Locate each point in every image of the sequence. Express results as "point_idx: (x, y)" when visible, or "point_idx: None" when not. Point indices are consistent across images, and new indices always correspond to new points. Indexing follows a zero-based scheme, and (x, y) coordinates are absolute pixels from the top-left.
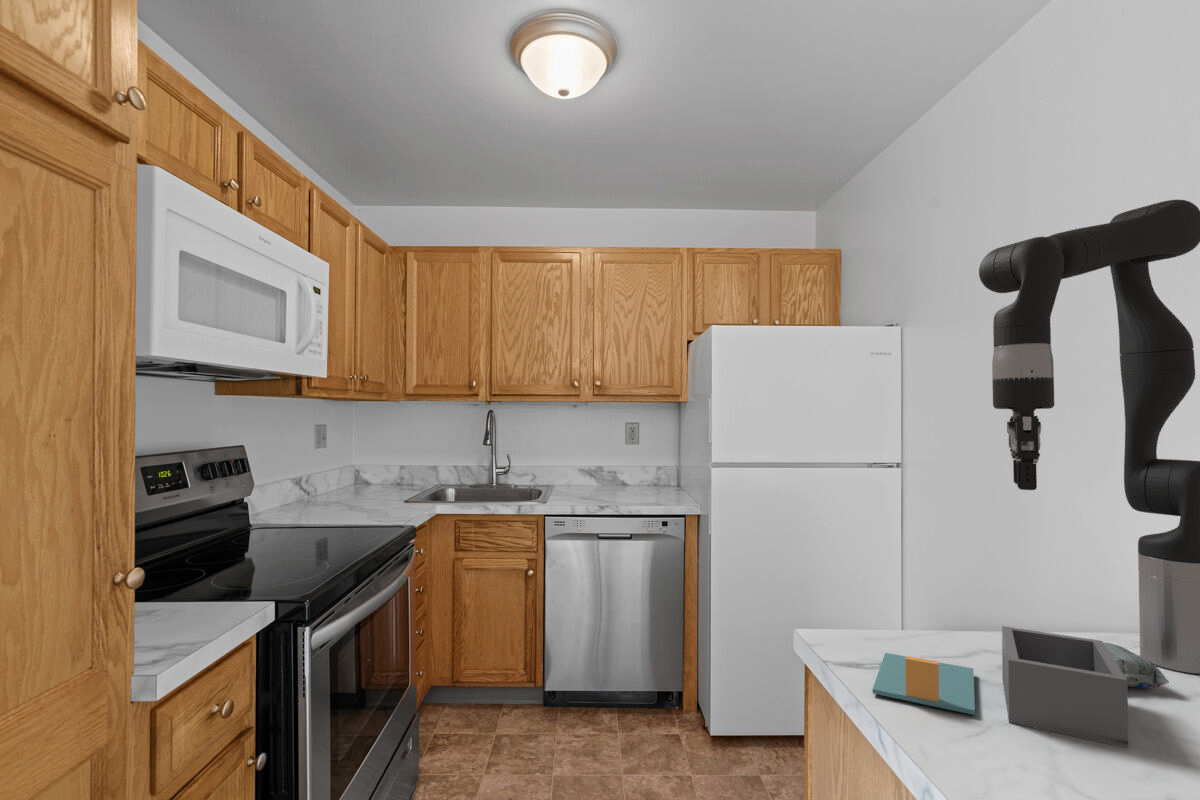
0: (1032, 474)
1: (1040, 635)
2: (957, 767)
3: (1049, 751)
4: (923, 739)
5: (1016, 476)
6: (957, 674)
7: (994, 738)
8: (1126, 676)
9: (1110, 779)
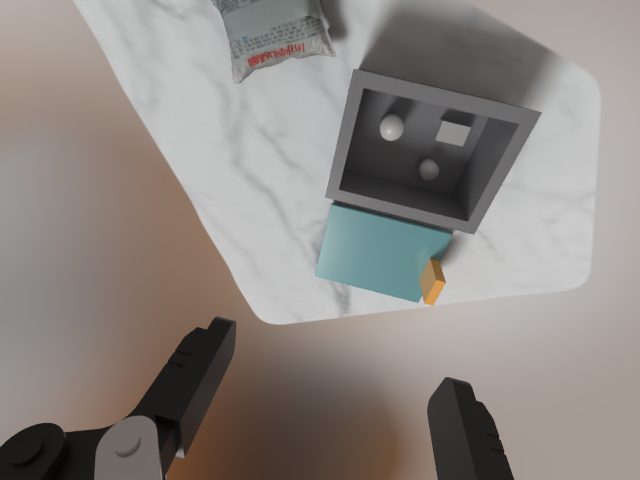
0: (503, 460)
1: (346, 156)
2: (552, 269)
3: (518, 188)
4: (501, 280)
5: (221, 374)
6: (356, 225)
7: (493, 227)
8: (327, 21)
9: (576, 153)
